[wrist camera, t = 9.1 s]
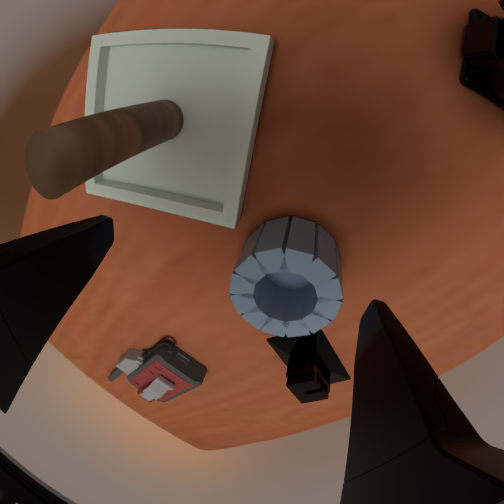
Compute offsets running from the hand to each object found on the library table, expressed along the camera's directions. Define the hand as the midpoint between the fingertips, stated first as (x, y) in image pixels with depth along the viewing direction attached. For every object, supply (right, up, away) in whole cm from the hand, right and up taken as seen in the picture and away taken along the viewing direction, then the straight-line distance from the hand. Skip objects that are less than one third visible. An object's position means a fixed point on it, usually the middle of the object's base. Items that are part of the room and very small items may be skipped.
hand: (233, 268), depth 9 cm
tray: (-5, +10, +10) cm, 15 cm away
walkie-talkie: (-13, -15, +28) cm, 35 cm away
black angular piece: (+7, -10, +20) cm, 24 cm away
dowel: (-6, +10, +9) cm, 14 cm away
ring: (+4, 0, +14) cm, 14 cm away
